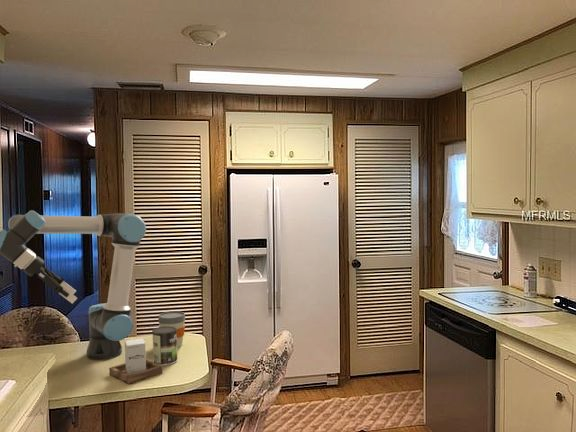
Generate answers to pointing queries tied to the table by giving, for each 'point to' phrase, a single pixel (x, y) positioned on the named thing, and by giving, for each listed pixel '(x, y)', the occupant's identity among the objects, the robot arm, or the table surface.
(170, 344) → the coffee can
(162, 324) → the reusable coffee cup
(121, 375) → the walnut tray
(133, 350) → the supplement box
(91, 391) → the table surface
